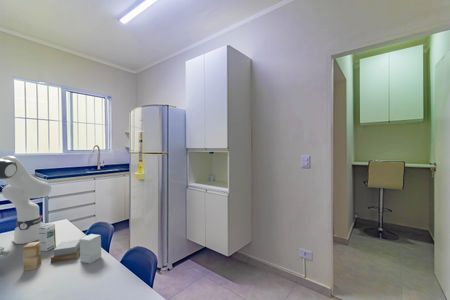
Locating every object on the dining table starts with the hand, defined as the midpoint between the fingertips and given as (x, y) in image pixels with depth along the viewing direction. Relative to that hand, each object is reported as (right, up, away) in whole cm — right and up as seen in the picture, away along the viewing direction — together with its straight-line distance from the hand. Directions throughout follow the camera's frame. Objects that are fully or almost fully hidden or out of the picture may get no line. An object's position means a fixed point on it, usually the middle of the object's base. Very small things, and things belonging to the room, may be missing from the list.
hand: (2, 257), depth 107 cm
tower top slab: (+22, -4, +15) cm, 27 cm away
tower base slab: (+22, -7, +15) cm, 28 cm away
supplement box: (+38, -7, +10) cm, 40 cm away
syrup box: (+3, -7, +24) cm, 25 cm away
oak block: (+12, -7, +4) cm, 14 cm away
